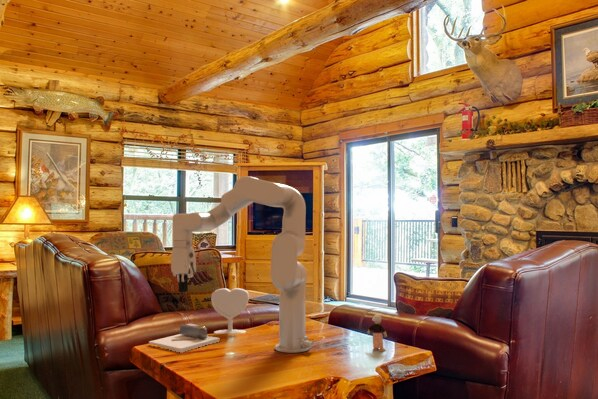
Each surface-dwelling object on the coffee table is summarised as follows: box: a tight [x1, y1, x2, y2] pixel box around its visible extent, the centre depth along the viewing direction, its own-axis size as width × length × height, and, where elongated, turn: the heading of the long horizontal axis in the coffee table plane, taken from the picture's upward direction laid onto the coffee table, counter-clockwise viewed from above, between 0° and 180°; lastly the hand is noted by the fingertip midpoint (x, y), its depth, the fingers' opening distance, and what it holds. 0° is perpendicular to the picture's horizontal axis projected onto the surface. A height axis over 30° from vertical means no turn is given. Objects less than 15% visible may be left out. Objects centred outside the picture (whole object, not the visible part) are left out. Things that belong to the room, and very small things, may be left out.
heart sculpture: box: [210, 287, 250, 334], centre depth 206 cm, size 16×5×18 cm, turn 91°
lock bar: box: [179, 323, 208, 339], centre depth 190 cm, size 14×3×4 cm, turn 53°
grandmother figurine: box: [366, 313, 388, 353], centre depth 175 cm, size 8×4×13 cm, turn 65°
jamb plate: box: [148, 323, 221, 354], centre depth 186 cm, size 18×19×6 cm
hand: (183, 291), depth 192 cm, fingers closed
